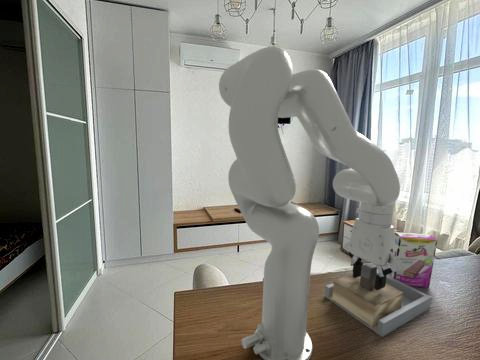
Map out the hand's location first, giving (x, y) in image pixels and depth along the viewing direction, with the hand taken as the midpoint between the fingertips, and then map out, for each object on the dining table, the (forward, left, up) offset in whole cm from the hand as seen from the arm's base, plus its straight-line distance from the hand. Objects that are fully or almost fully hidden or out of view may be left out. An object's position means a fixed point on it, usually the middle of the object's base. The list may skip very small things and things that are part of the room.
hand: (367, 281), depth 67 cm
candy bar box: (+24, +2, -8) cm, 25 cm away
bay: (+5, 0, -8) cm, 9 cm away
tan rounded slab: (0, 0, -8) cm, 8 cm away
